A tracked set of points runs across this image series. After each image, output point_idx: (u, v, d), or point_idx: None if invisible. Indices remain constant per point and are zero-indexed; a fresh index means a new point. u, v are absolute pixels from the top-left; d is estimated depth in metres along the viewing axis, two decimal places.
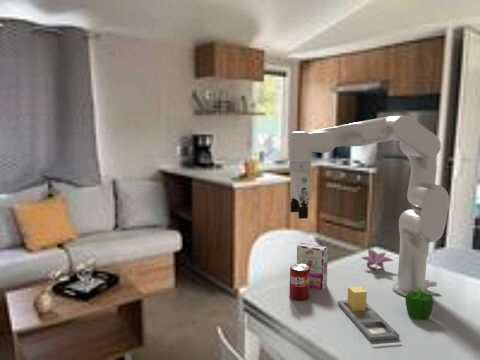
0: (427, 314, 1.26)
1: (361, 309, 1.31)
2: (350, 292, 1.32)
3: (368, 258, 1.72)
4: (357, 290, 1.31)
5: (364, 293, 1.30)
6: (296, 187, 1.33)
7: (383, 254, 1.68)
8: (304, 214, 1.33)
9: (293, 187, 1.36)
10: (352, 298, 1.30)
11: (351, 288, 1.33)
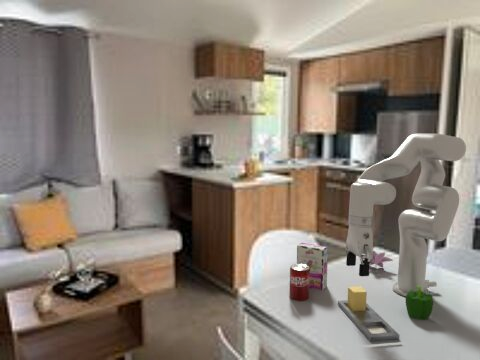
0: (427, 314, 1.26)
1: (361, 309, 1.31)
2: (350, 292, 1.32)
3: None
4: (357, 290, 1.31)
5: (364, 293, 1.30)
6: (357, 243, 1.25)
7: (383, 254, 1.68)
8: (366, 272, 1.25)
9: (353, 241, 1.28)
10: (352, 298, 1.30)
11: (351, 288, 1.33)
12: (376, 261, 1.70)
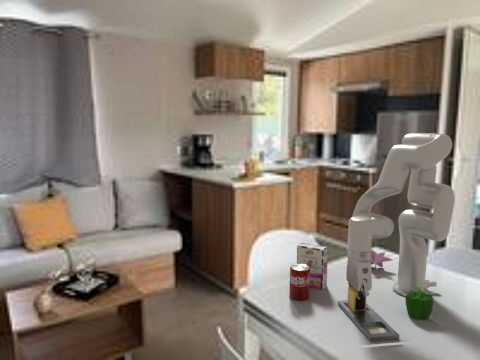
0: (427, 314, 1.26)
1: None
2: (350, 292, 1.32)
3: None
4: None
5: None
6: (356, 277, 1.27)
7: (382, 254, 1.68)
8: (361, 306, 1.29)
9: (352, 275, 1.30)
10: (352, 298, 1.30)
11: (351, 288, 1.32)
12: (376, 261, 1.70)
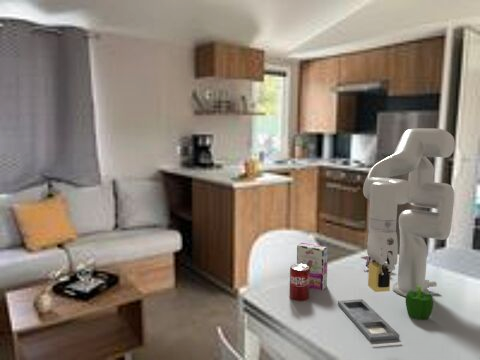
0: (427, 314, 1.26)
1: None
2: (372, 268, 1.16)
3: (367, 258, 1.73)
4: None
5: None
6: (380, 249, 1.12)
7: None
8: (386, 283, 1.13)
9: (374, 248, 1.14)
10: (374, 274, 1.15)
11: (373, 263, 1.17)
12: None
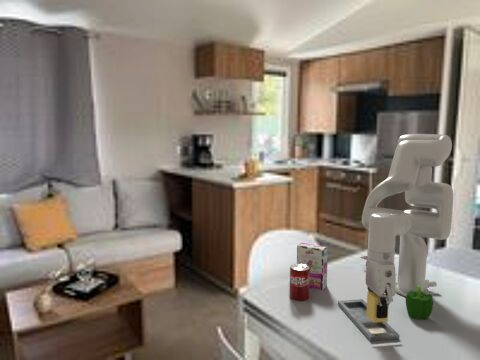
0: (427, 314, 1.26)
1: None
2: (370, 298, 1.17)
3: None
4: None
5: None
6: (378, 281, 1.13)
7: None
8: (384, 314, 1.14)
9: (373, 279, 1.16)
10: (373, 305, 1.16)
11: (371, 293, 1.18)
12: None
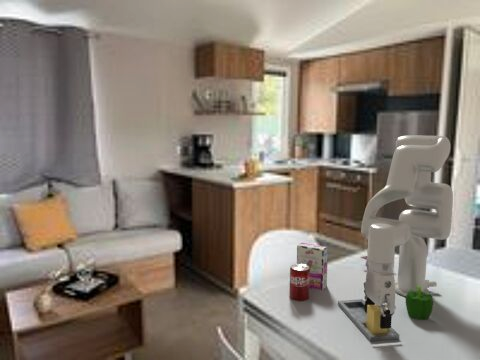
0: (427, 314, 1.26)
1: (382, 330, 1.17)
2: (370, 311, 1.18)
3: None
4: (378, 309, 1.17)
5: None
6: (378, 292, 1.13)
7: None
8: (387, 324, 1.13)
9: (372, 289, 1.16)
10: (372, 318, 1.17)
11: (371, 306, 1.19)
12: None
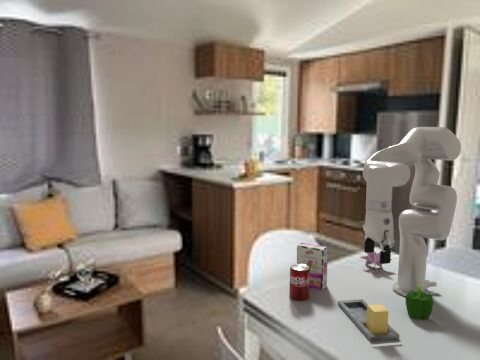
0: (427, 314, 1.26)
1: (382, 330, 1.17)
2: (370, 311, 1.18)
3: (367, 257, 1.73)
4: (378, 309, 1.17)
5: (386, 313, 1.16)
6: (377, 229, 1.18)
7: None
8: (387, 259, 1.18)
9: (371, 228, 1.21)
10: (372, 318, 1.17)
11: (371, 306, 1.19)
12: (375, 260, 1.71)
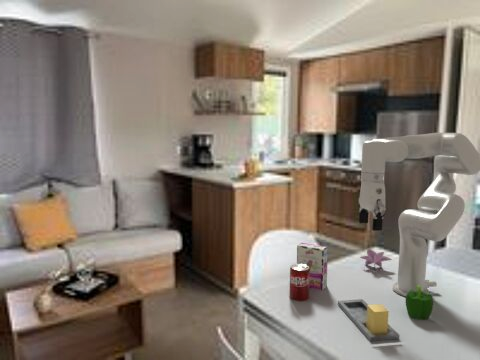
0: (427, 314, 1.26)
1: (382, 330, 1.17)
2: (370, 311, 1.18)
3: (367, 257, 1.73)
4: (378, 309, 1.17)
5: (386, 313, 1.16)
6: (370, 198, 1.29)
7: (382, 253, 1.69)
8: (379, 226, 1.29)
9: (365, 198, 1.32)
10: (372, 318, 1.17)
11: (371, 306, 1.19)
12: (375, 260, 1.71)
